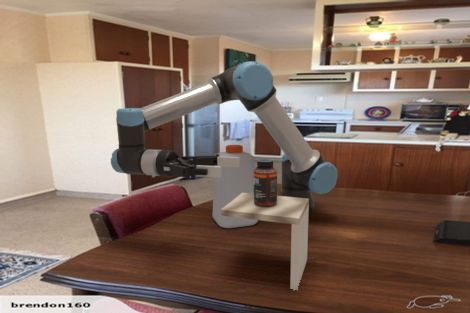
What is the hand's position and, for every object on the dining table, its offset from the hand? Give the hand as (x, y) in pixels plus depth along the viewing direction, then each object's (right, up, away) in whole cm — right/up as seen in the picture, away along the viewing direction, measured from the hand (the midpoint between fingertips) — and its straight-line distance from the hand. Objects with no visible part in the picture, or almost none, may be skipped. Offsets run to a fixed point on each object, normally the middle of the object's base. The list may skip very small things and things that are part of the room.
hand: (230, 167), depth 86 cm
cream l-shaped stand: (+9, -27, 0) cm, 28 cm away
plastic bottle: (+1, -21, +34) cm, 40 cm away
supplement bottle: (+9, -9, -3) cm, 13 cm away
